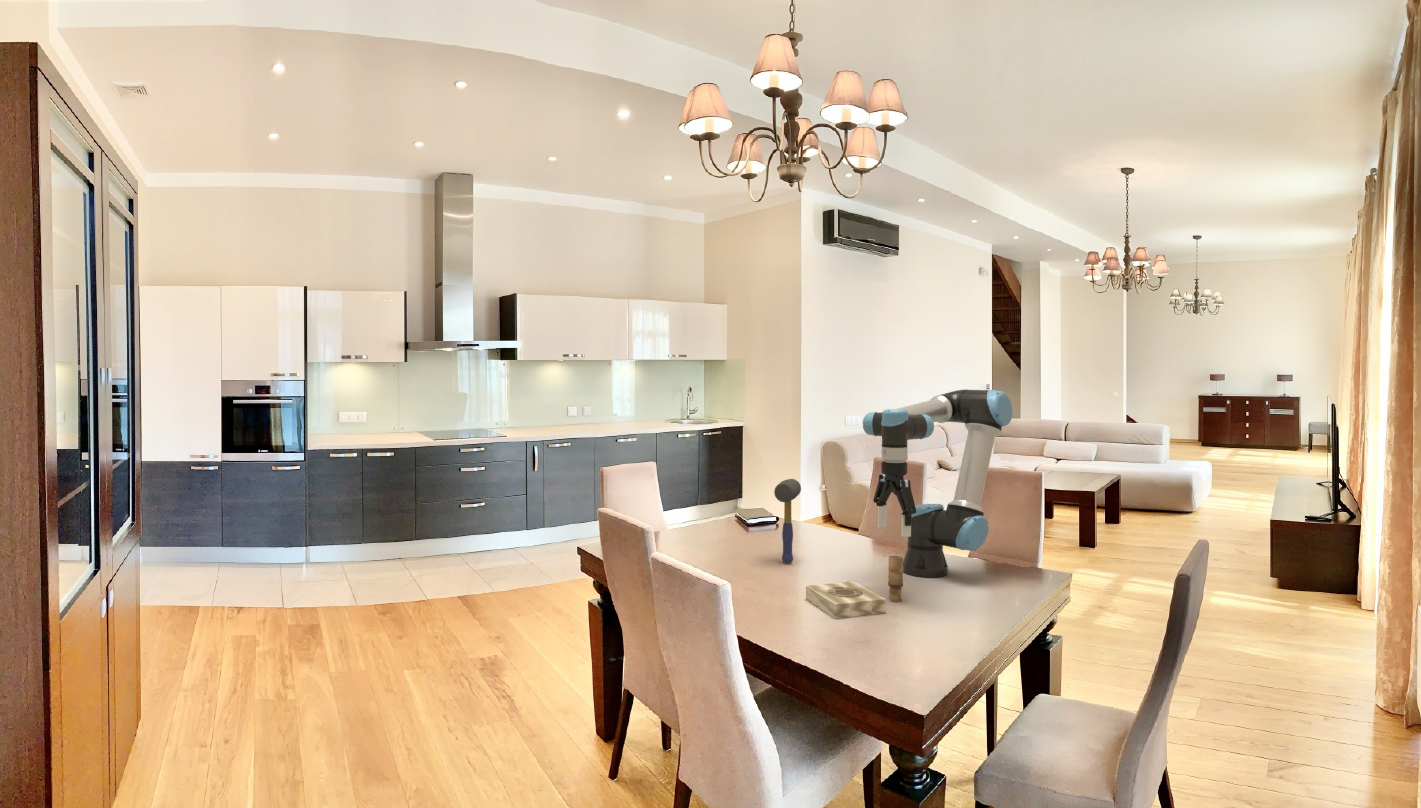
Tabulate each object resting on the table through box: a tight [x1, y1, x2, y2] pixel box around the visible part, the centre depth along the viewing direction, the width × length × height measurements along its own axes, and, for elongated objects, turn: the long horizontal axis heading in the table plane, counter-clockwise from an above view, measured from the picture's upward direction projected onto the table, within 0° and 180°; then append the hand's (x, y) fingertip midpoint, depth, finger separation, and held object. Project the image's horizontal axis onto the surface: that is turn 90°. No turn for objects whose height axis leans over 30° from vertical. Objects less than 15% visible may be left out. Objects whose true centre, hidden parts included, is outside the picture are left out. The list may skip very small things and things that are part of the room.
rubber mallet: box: [773, 478, 802, 565], centre depth 271 cm, size 12×8×30 cm, turn 159°
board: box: [805, 581, 887, 619], centre depth 223 cm, size 16×19×4 cm
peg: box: [887, 555, 904, 603], centre depth 228 cm, size 4×4×13 cm
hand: (893, 531), depth 227 cm, fingers open, 13 cm apart
